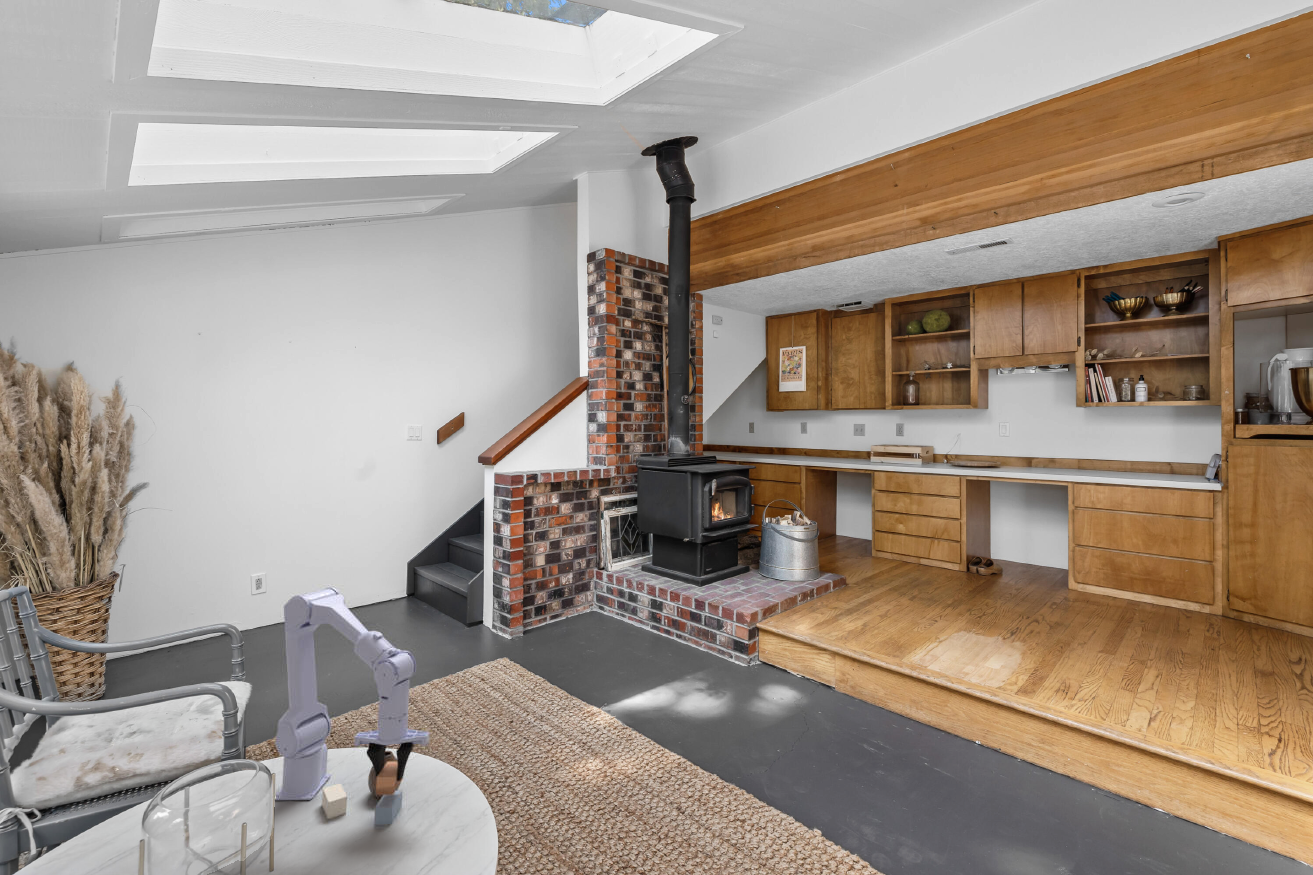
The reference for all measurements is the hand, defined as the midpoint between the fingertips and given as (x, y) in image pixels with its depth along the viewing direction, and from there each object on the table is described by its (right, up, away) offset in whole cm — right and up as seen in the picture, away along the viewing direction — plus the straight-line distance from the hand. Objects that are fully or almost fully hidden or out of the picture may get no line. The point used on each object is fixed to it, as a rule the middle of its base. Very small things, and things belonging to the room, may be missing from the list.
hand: (390, 778), depth 123 cm
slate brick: (0, -8, 0) cm, 8 cm away
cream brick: (-13, -7, +1) cm, 14 cm away
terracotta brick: (0, -2, 0) cm, 2 cm away
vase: (-5, -8, +7) cm, 12 cm away
